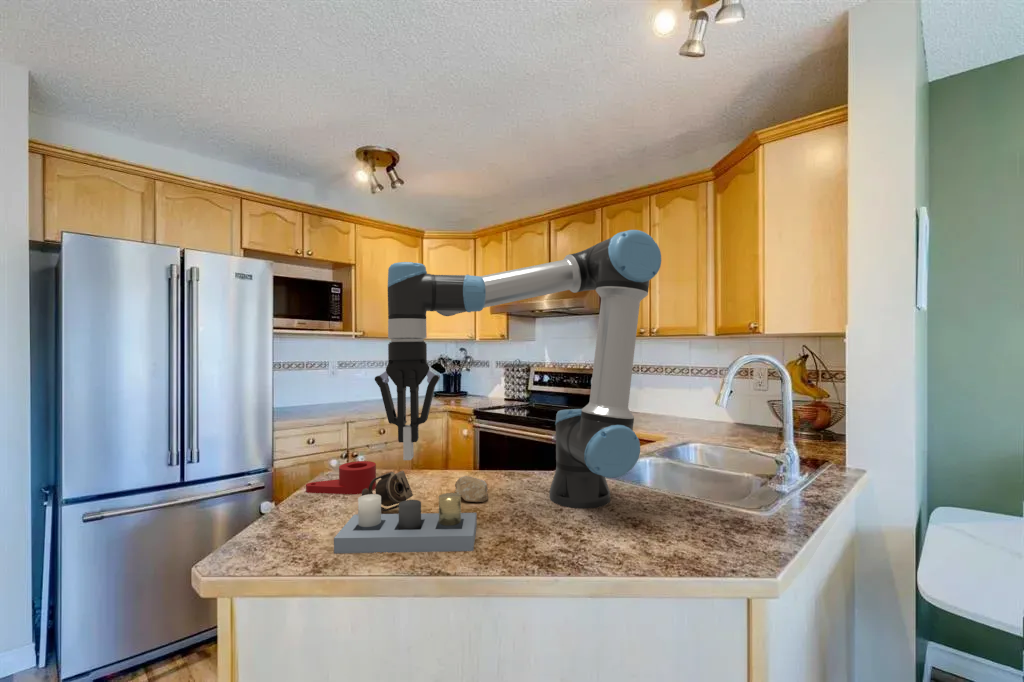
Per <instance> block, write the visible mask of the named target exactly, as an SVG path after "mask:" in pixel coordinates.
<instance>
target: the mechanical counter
mask: <svg viewBox="0 0 1024 682" xmlns="http://www.w3.org/2000/svg"><path fill="white" fill-rule="evenodd" d="M377 480H378V482H377ZM375 481H376V488H375V494H378V495H380V496H381V512H389V511H392V510H395V509H399V503H400V502H402V501H405V500H409V499H410V498H411V497H412V496H414V493H413V491H412V489H411V486H410V483H409V481H408V478H407V476H406V473H405V471H404V470H401V471H398V472H396V473H395V472H394V471H389V472H387V473H384V474H382V475H379V476H376V478H375V479H373V480H372V482H371V483H370V485H369V490H368V489H367V488H365V489H363V490H362V494H361V496H363V495H368V494H374V493H373V491H372V487H373V484H374V482H375ZM383 506H384V507H383ZM385 507H387V508H385ZM388 507H389V508H388Z"/></svg>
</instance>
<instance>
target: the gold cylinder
mask: <svg viewBox="0 0 1024 682" xmlns="http://www.w3.org/2000/svg"><path fill="white" fill-rule="evenodd" d="M438 513H439V523H440V524H441V525H445V526H451V525H456V524H459V523H460V522H461V513H462V497H461V495H460V494H457V493H455V492H447V493H441V494H440V495H439V496H438Z"/></svg>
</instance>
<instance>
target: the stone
mask: <svg viewBox="0 0 1024 682" xmlns="http://www.w3.org/2000/svg"><path fill="white" fill-rule="evenodd" d="M454 486H455V487H454V488H455V490H454V493H457V494H460V495H461V499H463V500H464V501H465V502H471V503H480V502H481V503H484V502H486V501H487V500H488V499H489V495H488V490H489V489H488V484H487V482H486V481H485V480H483V479H480V478H477V477H473V476H468V475H464V476H460V477H459V478H458V479H457V480H456V481H455V483H454Z"/></svg>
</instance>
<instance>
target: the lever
mask: <svg viewBox="0 0 1024 682" xmlns="http://www.w3.org/2000/svg"><path fill="white" fill-rule="evenodd" d="M376 477H377V464H376V462H373V461H369V460H361V461H360V460H358V461H357V460H356V461H351V462H346V463H342V464H341V465H339V466H338V479H330V480H320V481H319V480H318V481H313V482H307V483H305V492H306V493H308V494H330V495H362V490H363V489H365V488H367V489H368V490H369V485H370V483H371V482H372V480H373V479H375V478H376ZM376 485H377V480H376V481H375V482H374V484H373V487H372V492H373V491H375V490H376Z"/></svg>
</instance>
